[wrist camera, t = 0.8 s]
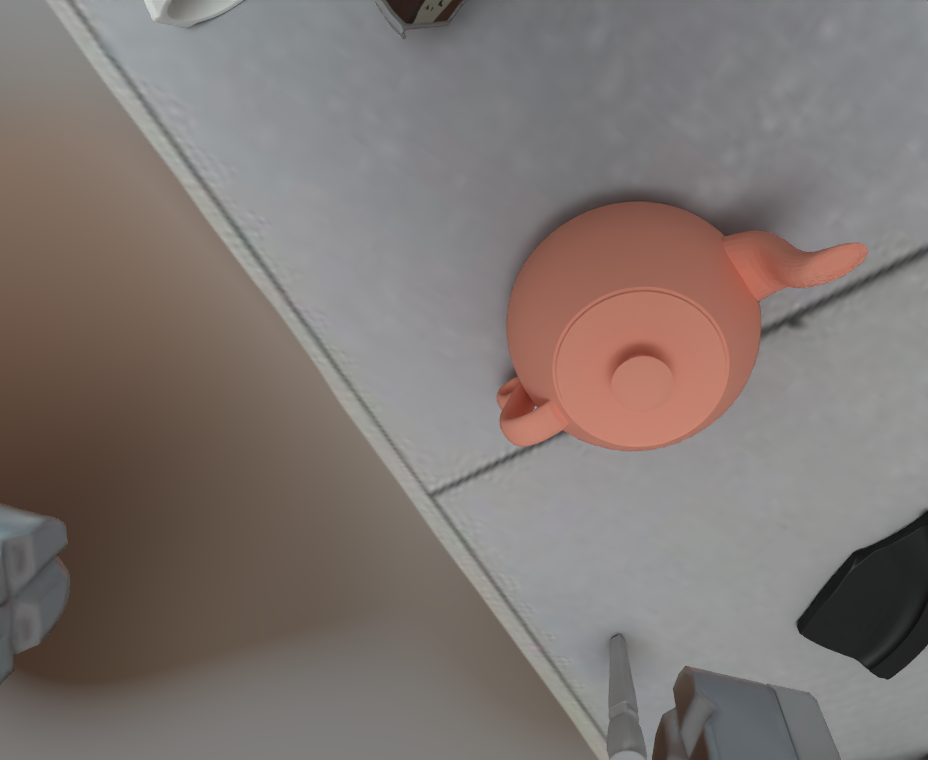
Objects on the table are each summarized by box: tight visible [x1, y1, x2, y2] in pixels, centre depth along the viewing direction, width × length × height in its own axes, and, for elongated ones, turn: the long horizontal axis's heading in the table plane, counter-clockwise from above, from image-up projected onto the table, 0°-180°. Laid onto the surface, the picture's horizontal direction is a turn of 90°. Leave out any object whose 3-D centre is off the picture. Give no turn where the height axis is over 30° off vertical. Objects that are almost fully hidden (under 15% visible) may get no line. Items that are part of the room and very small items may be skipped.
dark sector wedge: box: [797, 512, 928, 680], centre depth 52 cm, size 8×14×2 cm, turn 156°
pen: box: [607, 634, 647, 760], centre depth 52 cm, size 2×3×14 cm
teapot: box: [497, 201, 868, 451], centre depth 42 cm, size 22×16×12 cm
